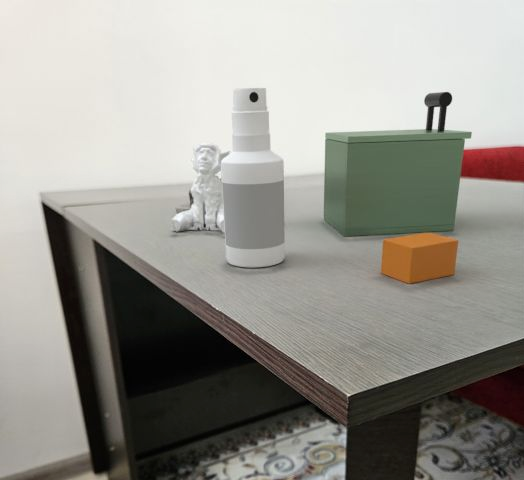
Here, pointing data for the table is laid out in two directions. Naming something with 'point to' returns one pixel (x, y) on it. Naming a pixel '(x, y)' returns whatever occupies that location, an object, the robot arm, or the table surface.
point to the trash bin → (392, 186)
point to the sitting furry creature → (204, 192)
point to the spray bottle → (252, 186)
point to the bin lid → (409, 135)
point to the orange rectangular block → (419, 257)
